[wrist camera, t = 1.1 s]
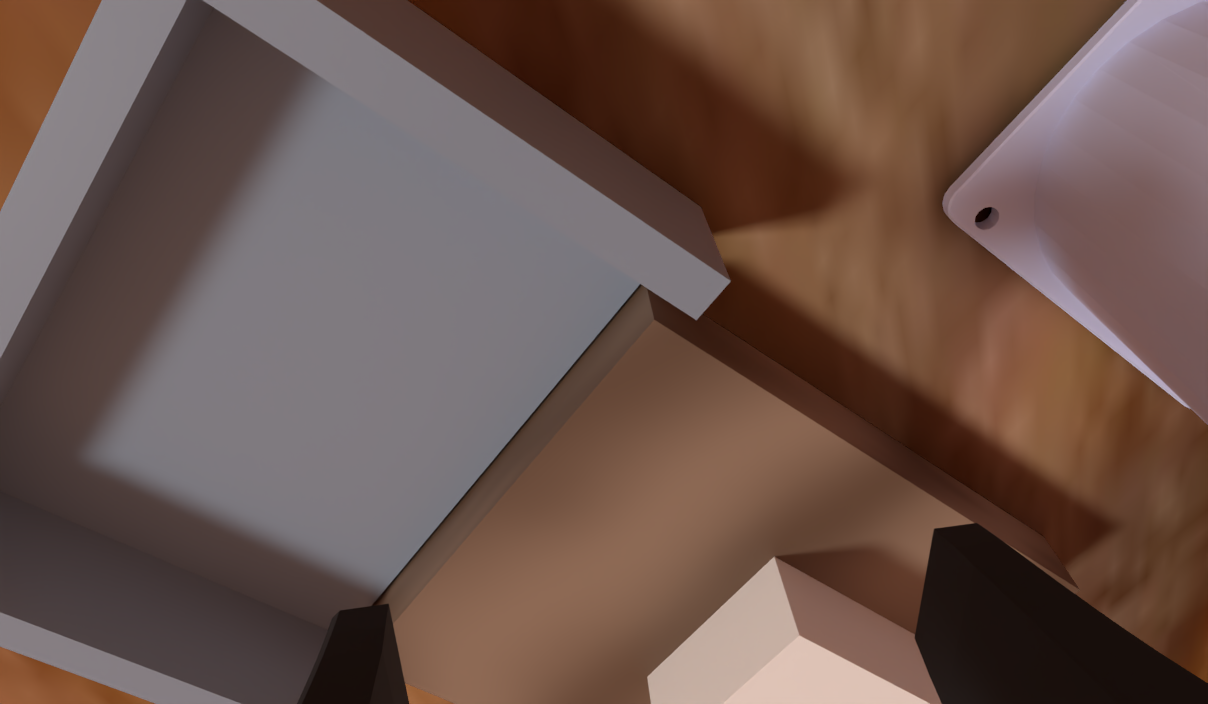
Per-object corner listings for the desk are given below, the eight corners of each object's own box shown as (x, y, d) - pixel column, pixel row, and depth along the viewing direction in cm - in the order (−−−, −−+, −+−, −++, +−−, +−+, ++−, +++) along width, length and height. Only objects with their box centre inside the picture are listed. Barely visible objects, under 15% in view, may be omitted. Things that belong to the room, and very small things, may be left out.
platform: (1044, 537, 27) (1079, 589, 25) (756, 775, 31) (769, 833, 30) (643, 275, 22) (654, 319, 20) (369, 604, 26) (358, 664, 25)
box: (700, 207, 21) (730, 281, 18) (332, 649, 27) (309, 760, 24) (218, -133, 17) (154, -110, 14) (-87, 475, 23) (-177, 581, 20)
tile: (915, 634, 25) (951, 714, 23) (787, 741, 27) (809, 824, 25) (774, 556, 24) (799, 635, 22) (647, 677, 26) (658, 760, 23)
